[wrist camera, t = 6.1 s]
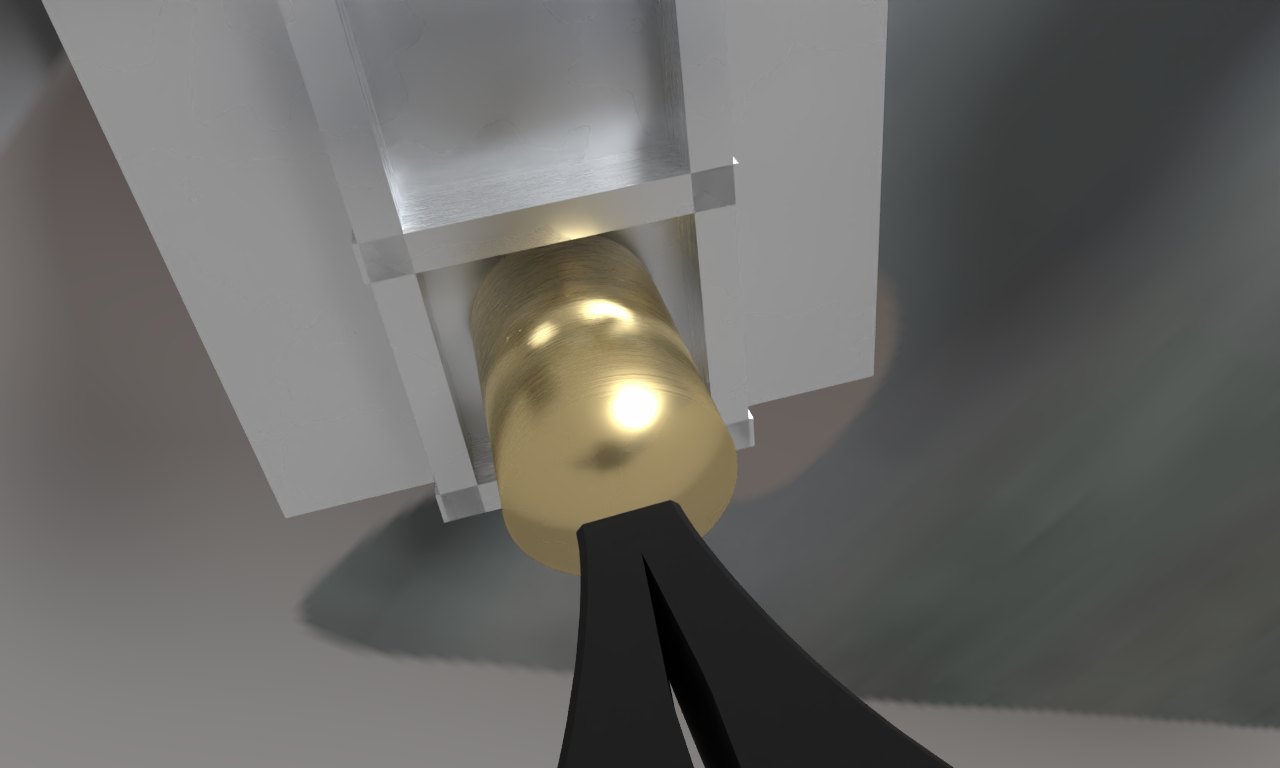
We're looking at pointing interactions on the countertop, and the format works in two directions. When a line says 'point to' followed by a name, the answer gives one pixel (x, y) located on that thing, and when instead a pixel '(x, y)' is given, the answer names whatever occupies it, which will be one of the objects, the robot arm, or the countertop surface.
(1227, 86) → the countertop surface
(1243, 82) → the countertop surface
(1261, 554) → the countertop surface
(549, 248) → the billet
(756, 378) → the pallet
